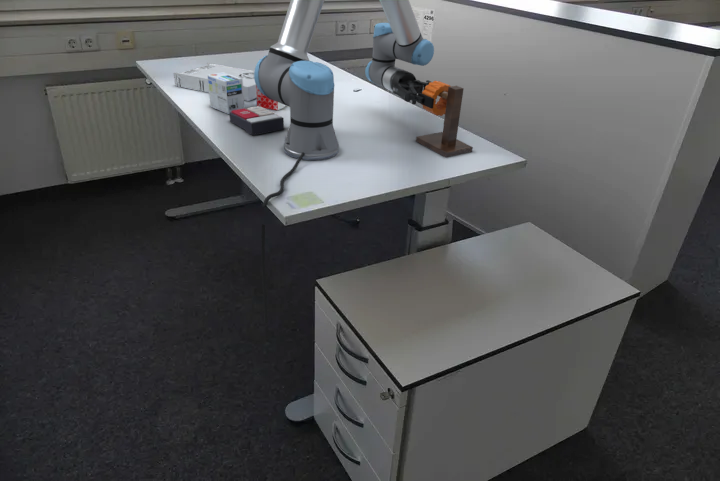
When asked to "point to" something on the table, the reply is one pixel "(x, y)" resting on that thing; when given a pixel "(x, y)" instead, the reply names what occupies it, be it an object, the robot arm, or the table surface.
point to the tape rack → (448, 127)
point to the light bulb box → (225, 92)
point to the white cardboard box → (201, 79)
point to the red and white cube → (267, 102)
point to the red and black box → (257, 120)
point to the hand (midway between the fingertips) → (445, 101)
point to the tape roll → (433, 91)
